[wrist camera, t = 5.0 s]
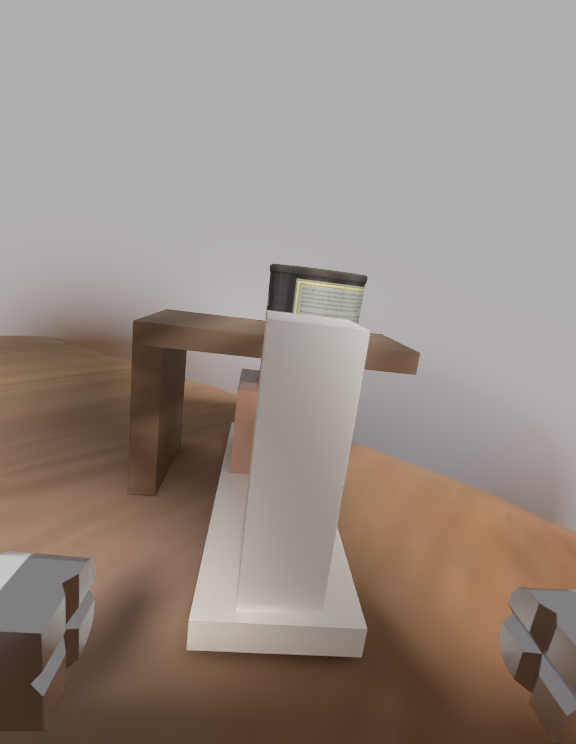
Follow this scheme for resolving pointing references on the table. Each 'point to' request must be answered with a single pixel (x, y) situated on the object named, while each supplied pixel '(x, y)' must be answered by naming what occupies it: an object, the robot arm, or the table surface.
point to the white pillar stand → (287, 504)
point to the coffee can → (315, 292)
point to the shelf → (167, 376)
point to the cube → (244, 421)
